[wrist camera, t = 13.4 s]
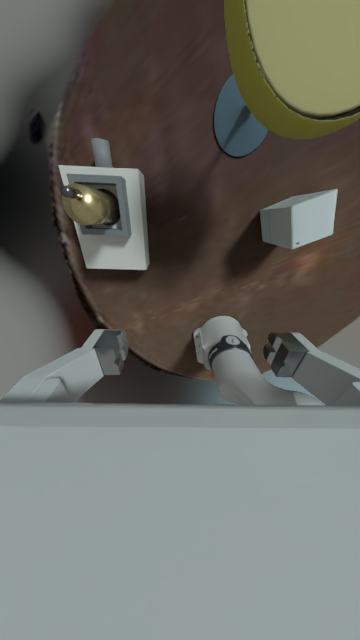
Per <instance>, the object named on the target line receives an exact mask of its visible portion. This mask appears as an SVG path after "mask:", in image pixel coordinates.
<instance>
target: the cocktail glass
mask: <svg viewBox="0 0 360 640" xmlns="http://www.w3.org/2000/svg"><path fill="white" fill-rule="evenodd" d="M224 15H225V27H226V38H227V46H228V51H229V56H230V62H231V67H232V71H233V74H232V75H231V76H230V77H229V79H228V80H227V81H226V83H225V84H224V86H223V88H222V89H221V92H220V94H219V96H218V99H217V103H216V107H215V112H214V129H215V134H216V138H217V141H218V143H219V145H220V146H221V148H222V149H223V150H224V151H225V152H226V153H227V154H229V155H231V156H235V157H241V156H245V155H247V154H249V153H251V152H252V151H254V150H255V149H256V148H257V147H258V146H259V145H260V143H261V142H262V141H263V139H264V138H265V136H266V134H267V132H268V130H269V131H271V132H273V133H275V134H277V135H279V136H281V137H285V138H290V139H311V138H315V137H319V136H323V135H327V134H330V133H332V132H334V131H337V130H339V129H341V128H343V127H346V126H348V125H350V124H352V123H353V122H355V121H357V120H358V119H360V0H224Z"/></svg>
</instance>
